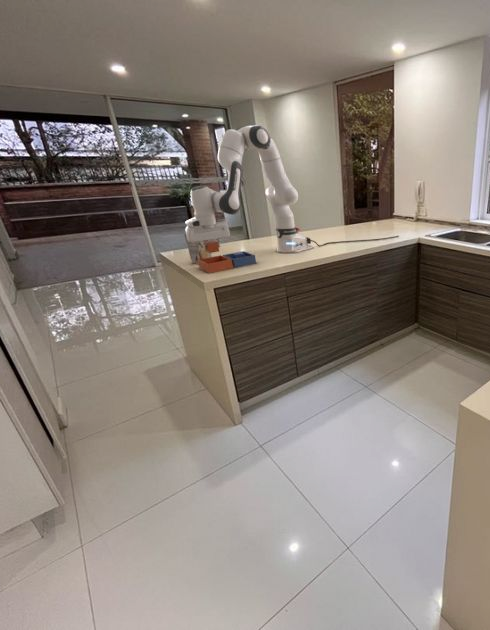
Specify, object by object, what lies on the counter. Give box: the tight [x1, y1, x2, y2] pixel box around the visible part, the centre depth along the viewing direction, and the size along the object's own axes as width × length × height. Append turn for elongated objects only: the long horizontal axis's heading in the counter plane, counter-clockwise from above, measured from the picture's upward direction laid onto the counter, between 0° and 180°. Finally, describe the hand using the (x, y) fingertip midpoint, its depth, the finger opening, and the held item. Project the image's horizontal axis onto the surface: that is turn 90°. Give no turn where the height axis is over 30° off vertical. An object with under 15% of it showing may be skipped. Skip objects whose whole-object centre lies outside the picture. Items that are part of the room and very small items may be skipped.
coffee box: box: [184, 233, 212, 265], centre depth 187 cm, size 9×6×16 cm
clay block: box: [204, 239, 220, 254], centre depth 173 cm, size 5×5×5 cm
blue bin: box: [221, 250, 257, 269], centre depth 186 cm, size 12×13×5 cm
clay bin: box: [198, 255, 234, 274], centre depth 177 cm, size 12×13×5 cm
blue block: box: [231, 251, 245, 259], centre depth 186 cm, size 5×5×5 cm
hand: (211, 248), depth 174 cm, fingers closed on clay block, 5 cm apart
